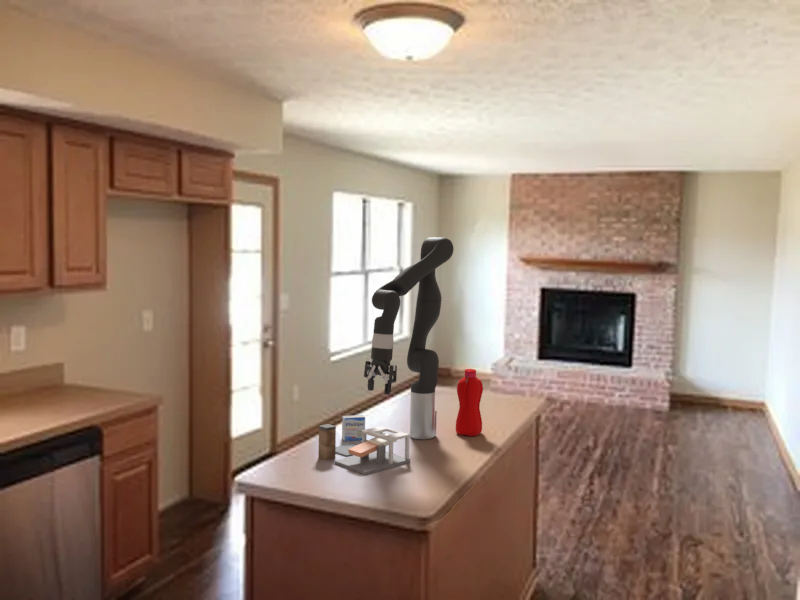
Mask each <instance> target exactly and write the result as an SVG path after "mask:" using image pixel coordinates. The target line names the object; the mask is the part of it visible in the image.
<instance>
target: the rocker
mask: <svg viewBox="0 0 800 600" xmlns="http://www.w3.org/2000/svg"><path fill="white" fill-rule="evenodd" d="M383 435H389V433H386V432H383ZM367 440H368V441H366V442H363V443H361V444H360V443H359V444H357V445H355V446H354V447H352V448H350V449H348V451H349V454H352V455H351V456H358V457H364V456H366V455H368V454H370V453H372V452H374V451H377V447H378V446H382V445H385V446H386V447H387V446H389V441H387V440H383V439H380V438H377V437H372V438H370V439H367ZM397 441H398V440H394V441H393V444H394V443H396V442H397Z"/></svg>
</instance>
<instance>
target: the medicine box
mask: <svg viewBox="0 0 800 600" xmlns="http://www.w3.org/2000/svg"><path fill="white" fill-rule="evenodd" d="M341 417H342V418H341V422H342V423H341V439H342V440H343V442H357V441H362V433H361V430H366V417H365V416H364V415H363V414H356V415H354V414H353V415H342V416H341Z"/></svg>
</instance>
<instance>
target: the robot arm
mask: <svg viewBox="0 0 800 600" xmlns="http://www.w3.org/2000/svg"><path fill="white" fill-rule="evenodd" d="M454 249H455V248H454V244H453V242H452V240H450V239H449V238H448V237H441V236H440V237H430V236H429V237H427V238H426V239H424V240H423V241H422V244H421V248H420V258H419V259H420V260H418V261H417V262H415V263H412V264H411V265H408V266H407V267H405V268H404V269H403V270H401V272H399V274H397V275H396V276H395V277H394V279H393V280H392V279H391V281H389V282H387V283H385V284H384V285H382V286H380V287H379V288H378V289H376V291H374V293H373V294H372V296H371V304H372V306H373V307H374V308H375V309H377V310H381V311H383V312H382V313H381V316H377V317H375V319H374V323H373V334H372V339H371V340H372V341H371V352H370V353H371V354H370V359H371V360H365V364H364V372H363V377H364V378H366V379H367V390H368V391H369V392H370V391H371V392H372V391H374V388H375V380H374V379H375V378H376V377H377V376H380V377H381V378H382V379H383V380H384V392H383V393H384V395H390V394H391V391H392V384H393V383H397V373H398V372H397V371H398V365H394V364H392V365H391V361H392V360H393V353H394V351H393V350H394V329H395V321H396V320H397V315H398V314H399V313H398V312H399V311H400V307H401V298H400V297H403V296H406V295H407V294H408V293H409V292H410V291H411V290H412V289H413V288H414V287H415V286H417V284H418V288H417V289H418V290H417V291H418V292H417V296H416V305H415V312H414V322H413V326H412V327H413V328H412V333H411V338H410V342H409V348H408V352H407V356H406V363H407V368H408V370H409V371H411V372H413V373H414V372H415V373H418V374H419V377H418V378H419V379H418V380H417V381H414V382H412V383H411V384H410V407H409V409H410V412H409V413H410V414H409V420H410V421H409V434H410V438H412V439H415V440H416V439H417V440H431V439H434V437H437V417H438V416H437V410H436V387H437V384H438V378H439V367H440V366H439V365H440V363H439V361H440V360H439V356H438V355H439V354H437V352H436V351H435V350H433V349H428V348H426V344H427V338H428V337H429V336H428V335H429V333H430V332H431V331H432V328H433V327H434V326H435V324H436V322H437V321H438V319H439V317H440V314H441V307H442V293H441V290H440V288H439V284H438V281H437V278H436V269H437V268H439V267H441V266H442V265H444V264H445V263H446V262H448V261H449V260H451V258H452V256H453V254H454Z"/></svg>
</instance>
